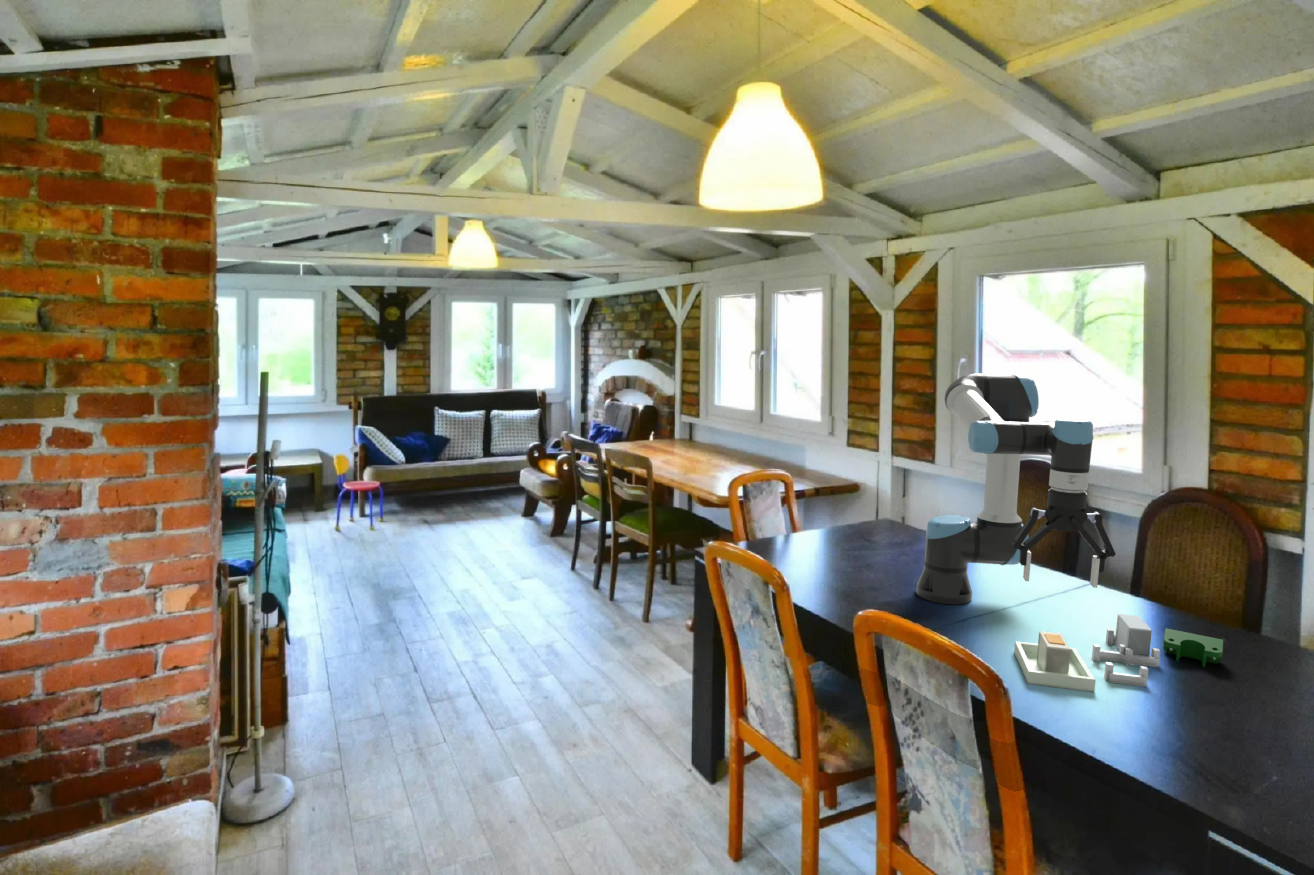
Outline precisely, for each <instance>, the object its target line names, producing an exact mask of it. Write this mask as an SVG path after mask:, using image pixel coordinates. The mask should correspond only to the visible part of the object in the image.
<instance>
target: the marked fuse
mask: <svg viewBox="0 0 1314 875" xmlns="http://www.w3.org/2000/svg"><path fill="white" fill-rule="evenodd" d="M1037 642H1038V643H1037V644H1038V650H1037V661H1038V663H1039V665H1040V667H1041V669H1042V671H1044V672H1052V673H1060V674H1068V673H1069V662H1070V648H1071V647H1070V646H1069V644H1068V642H1067V641H1066V640H1065V638H1064V636H1063V635H1062V633H1061V632H1052V631H1050V632H1049V631H1044V630H1043V631H1041V630H1040V631H1039V632H1038V641H1037Z"/></svg>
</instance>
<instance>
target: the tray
mask: <svg viewBox="0 0 1314 875" xmlns="http://www.w3.org/2000/svg"><path fill="white" fill-rule="evenodd" d="M1037 650H1038V643H1033V642H1025V641H1017V640H1015V641H1014V651H1013V652H1014V655H1015V658H1016V660H1017V662H1018V665H1019V667H1020V670H1021V671H1022V674H1023V676H1024V678H1025V681H1026V683H1027V684H1028V685H1029V684H1030V685H1036V686H1037V685H1038V686H1043V687H1052V688H1060V689H1067V690H1075V691H1083V692H1089V693H1090V692H1091V693H1095V688H1096V678H1095V677H1094V675H1093V674H1092V673H1093V672H1092V671H1091V670H1090V669H1089V667H1088V666H1087V663H1086V662H1085V661H1084V659H1083V658H1082V656H1081V655H1080V652H1079V651H1078V650H1077V648H1076V647H1070V662H1069V673H1068V674H1060V673H1052V672H1044V671H1042V669H1041V667H1040V665H1039V663H1038V661H1037Z"/></svg>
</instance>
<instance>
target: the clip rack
mask: <svg viewBox="0 0 1314 875" xmlns="http://www.w3.org/2000/svg"><path fill="white" fill-rule="evenodd" d="M1115 637H1116V633H1115V630H1114V629H1113V628H1106V636H1105V643H1106V644H1107V645H1111V646H1113V645H1114V644H1115ZM1101 648H1102V647H1101V646H1100V644H1095V643H1093V644H1092V652H1091V660H1092V661H1093V662H1100V660H1101V661H1105V666H1104V676H1103V678H1104V680H1105V681H1108V682H1109V683H1112V684H1120V685H1126V686H1127V685H1128V686H1135V687H1136V686H1137V687H1144V688H1145V687H1146V688H1147V686H1148V678H1149V668H1148V667H1151V668H1159V664H1160V656H1161V650H1160V649H1159V648H1156V647H1155V648H1154V647H1152V648H1151V653H1150V654H1151V656H1150V655H1149V656H1141V655H1133V650H1132V649H1131V648H1127V646H1126V645H1121V644H1120V646H1119V650H1118V651H1111V650H1105V649H1101ZM1113 662H1119V663H1123V664H1124V665H1125V666H1132V665H1134V666H1135V665H1136V666H1139V670H1138V671H1139V672H1138V674H1131V673H1121V672H1115V671H1114V664H1113Z"/></svg>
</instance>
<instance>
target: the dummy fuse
mask: <svg viewBox="0 0 1314 875" xmlns="http://www.w3.org/2000/svg"><path fill="white" fill-rule="evenodd" d="M1116 620H1117V621H1116V627H1115V628H1116V629H1115V634H1116V637H1115V643H1114V646H1115V647H1116V648H1117V650H1118V651H1119V646H1120V644H1121V645H1126V646H1127V648H1131V649H1132V650H1133V655H1141V656H1150V654H1151V652H1150V650H1151V644H1152V643H1151V642H1152V635H1153V632H1152V631H1153V630H1152V629H1151V628H1150V626H1149V625H1148V624H1147V623H1146V622H1145V621H1144V619H1142V617H1141V616H1139V615H1131V614H1130V615H1129V614H1123V613H1122V614H1119V613H1118V614H1117V619H1116Z"/></svg>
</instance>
